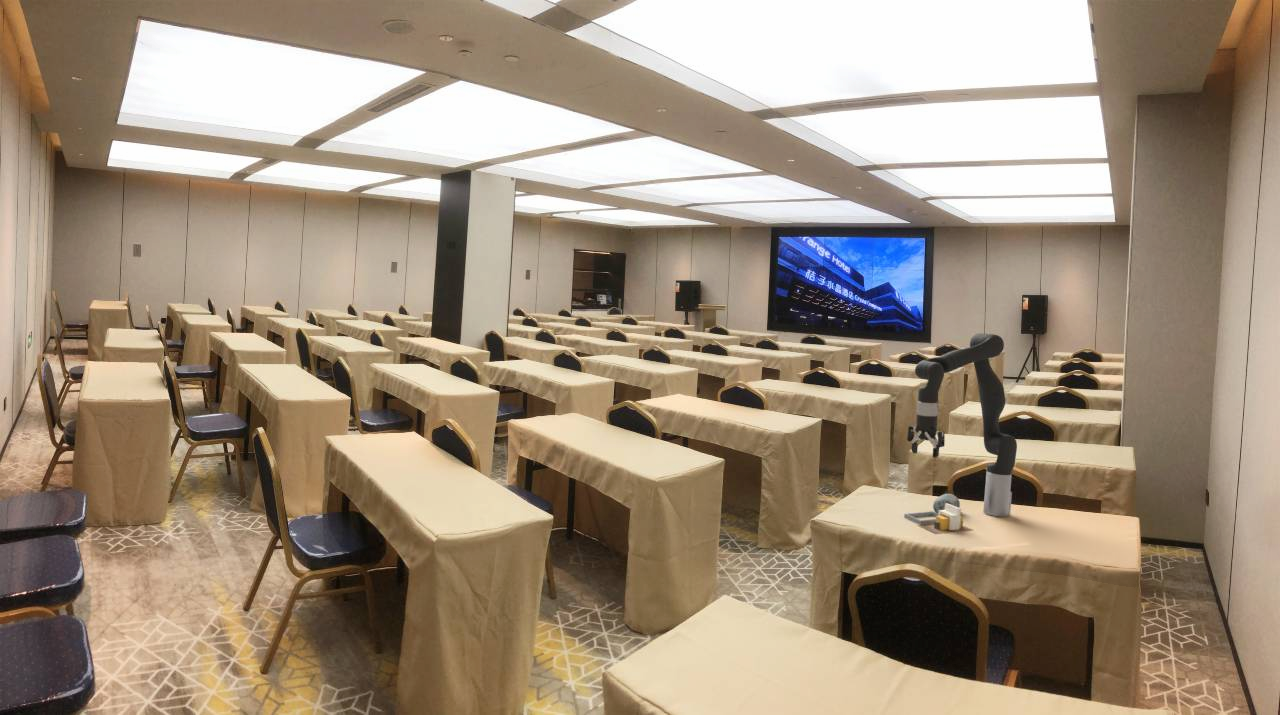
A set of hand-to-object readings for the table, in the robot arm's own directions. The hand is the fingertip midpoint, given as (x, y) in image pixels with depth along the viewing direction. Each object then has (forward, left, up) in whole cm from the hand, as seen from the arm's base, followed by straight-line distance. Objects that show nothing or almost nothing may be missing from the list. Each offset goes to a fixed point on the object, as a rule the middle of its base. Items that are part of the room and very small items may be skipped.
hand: (924, 455), depth 278 cm
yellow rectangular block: (-5, +9, -26) cm, 28 cm away
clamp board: (-4, +9, -27) cm, 29 cm away
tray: (-4, -1, -27) cm, 27 cm away
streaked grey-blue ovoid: (-19, -7, -27) cm, 34 cm away
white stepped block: (-5, +9, -26) cm, 28 cm away
